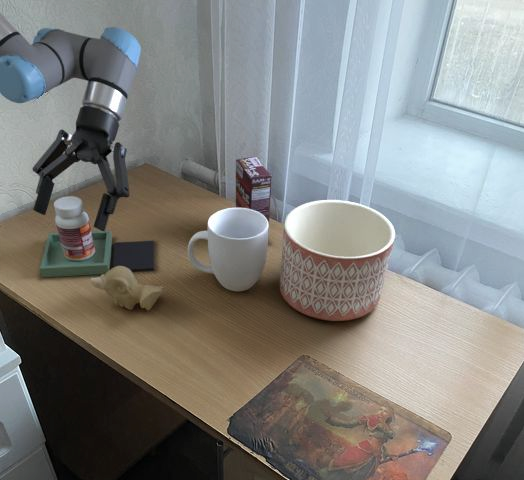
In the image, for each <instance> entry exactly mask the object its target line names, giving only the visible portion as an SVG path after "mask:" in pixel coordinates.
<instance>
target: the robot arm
mask: <svg viewBox="0 0 524 480" xmlns="http://www.w3.org/2000/svg"><path fill="white" fill-rule="evenodd" d="M141 53H142V47H141V45H140V42H139V41H138V39H136V38H135V36H134V35H132V33H129V32H128V31H127V30H125V29H123V28H121V27H116V26H110V27H105V28H104V29H103V31H102V34H101V35H100V37H99V38H96V37H90V36H85V35H82V34H77V33H73V32H69V31H66V30H64V29H60V28H49V27H44V28H43V27H42V28H40V29H39V30H38V31H37V32H36V35H35V36H34V37H33V40H32V44H31V43H30V42H29V41H28V40H27V38H25V37H24V36H23V35H22V34H21V33H20V32H19V31H18V29H17V28H15V26H13V24H12V23H11V22H10V21H9V20H8V19H7V18H6V17H5V16H4V15H3V14H2V12H0V95H1V96H3V98H5V99H6V100H8V101H9V102H13V103H16V104H24V103H27V102H30V101H32V100H36V99H38V98H39V97H40V96H42V95H43V94H44V93H46V92H48V91H49V90H50V91H51V90H53V89H55V88H57V87H58V86H61V85H62V84H64V83H66V82H68V81H70V80H72V79H79V80H81V81H87V84H86V87H85V89H84V93H83V97H82V100H81V105H82V106H81V107H80V108H79V110H78V114H77V117H76V119H75V120H76V121H75V131H74V132H73V134H71V133H68V132H67V131H66V130H64V129H60V130H59V131H58V133H57V135H56V137H55V140H54V141H53V142H52V143H51V145H49V147H48V148H47V149H46V151H45V152H44V153H43V154H42V155H41V157H39V159H38V161H37V162H36V163H35V164H34V165H33V167H32V172H34V173H35V174H37V175H38V176H39V179H38V183H37V187H36V191H35V194H36V195H37V196H36V198H35V201H34V202H35V203H34V206H33V209H32V211H34V212H36V213H38V214H40V215H42V216H46V214H47V210H48V208H49V203H50V201H51V198H52V194H53V190H54V187H55V182H54V181H53V180H54V179H56V178H57V177H59V175H61V174H62V173H64V172H65V171H66V170H67V169H69V168H70V167H71V166H72V165H74V164H75V163H79V162H80V161H82V162H83V163H91V164H93V165H97V167H98V169H99V172H100V175H101V177H102V180H103V183H104V185H105V188H106V192H103V194H102V197H101V199H100V203H99V207H98V211H97V213H96V217H95V220H94V224H93V227H94V228H95V229H97V230H98V231H106V228H107V225H108V221H109V217H110V215H113V214H114V213H115V210H116V207H117V203H118V200H119V199H121V198H127V199H128V198H129V197H130V196H131V195H130V188H129V180H128V171H127V164H126V156H127V151H128V149H127V148H126V147H125V146H124V145H123V144H122V143H121V142H119V141H117V142H115V140H116V138H117V135H118V131H119V128H120V123H119V122H121V120H122V117H123V114H124V111H125V108H126V105H127V100H128V98H129V97H128V96H129V93H130V90H131V88H132V84H133V82H134V78H135V74H136V72H137V71H138V65H139V61H140V56H141ZM50 91H49V92H50ZM49 92H48V93H49ZM114 142H115V143H114ZM110 154H112V158H113V166H114V173H115V177H114V174H113V172H112V170H111V165H110V161H109V160H108V157H107V156H109V155H110Z"/></svg>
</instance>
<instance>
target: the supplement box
mask: <svg viewBox="0 0 524 480" xmlns="http://www.w3.org/2000/svg"><path fill="white" fill-rule="evenodd" d="M272 177H273V176H272V174H271V173H270V172H269V171H268V170H267V168H266V167H265V166H264V165H263V164H262V163H261V161H260V160H259V159H258V156H249V157H244V158H237V159H235V208H247V209H251V210H255V211H257V212H259V213H261V214H262V215H264V216H265V217H266V219H267V221H268V234H269V230H270V214H271V212H270V211H271V194H272Z"/></svg>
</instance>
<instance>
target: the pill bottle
mask: <svg viewBox="0 0 524 480" xmlns="http://www.w3.org/2000/svg"><path fill="white" fill-rule="evenodd" d="M53 208H54V212H55V214H56V215H55V217H54V218H55V219H54V221H55V226H56V230H57V233H59V237H60V241H61V245H62V249H63V253H64V256H65V257H66V258H67V259H69V260H73V261H83V260H86V259H88V258H90V257H92V256H93V255H94V253H95V247H94V242H93V237H92V232H91V231H92V230H91V223H90V218H89V215H88V214H87V212H86V211H85V209H84V203H83V200H82V199H81V198H80V197H78V196H73V195H66V196H62V197H59V198H57V199H56V200H55V201H54V203H53Z"/></svg>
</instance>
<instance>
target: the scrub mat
mask: <svg viewBox="0 0 524 480" xmlns="http://www.w3.org/2000/svg"><path fill="white" fill-rule="evenodd" d="M112 259H113V260H112V268H114V267H116V266H124V267H126V268H128V269H130V270H131V271H132V273H133V272H149V271H150V272H151V271H155V241H154V240H142V241H141V240H139V241H120V242H119V241H118V242H114V250H113V258H112Z"/></svg>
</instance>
